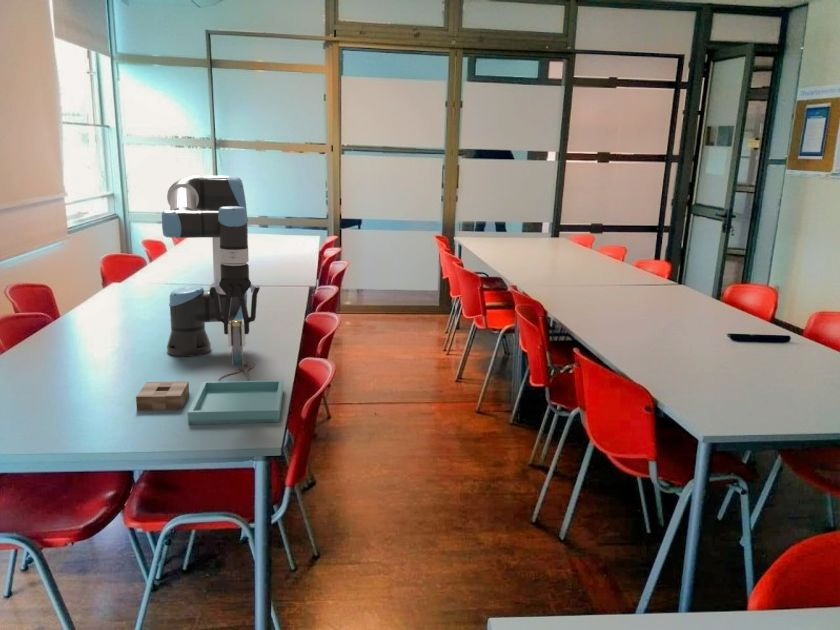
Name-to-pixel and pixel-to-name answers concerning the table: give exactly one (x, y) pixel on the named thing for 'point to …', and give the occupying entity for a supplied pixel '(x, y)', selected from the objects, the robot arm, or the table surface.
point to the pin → (236, 343)
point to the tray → (237, 402)
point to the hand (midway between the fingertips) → (237, 344)
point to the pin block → (162, 395)
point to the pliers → (242, 368)
